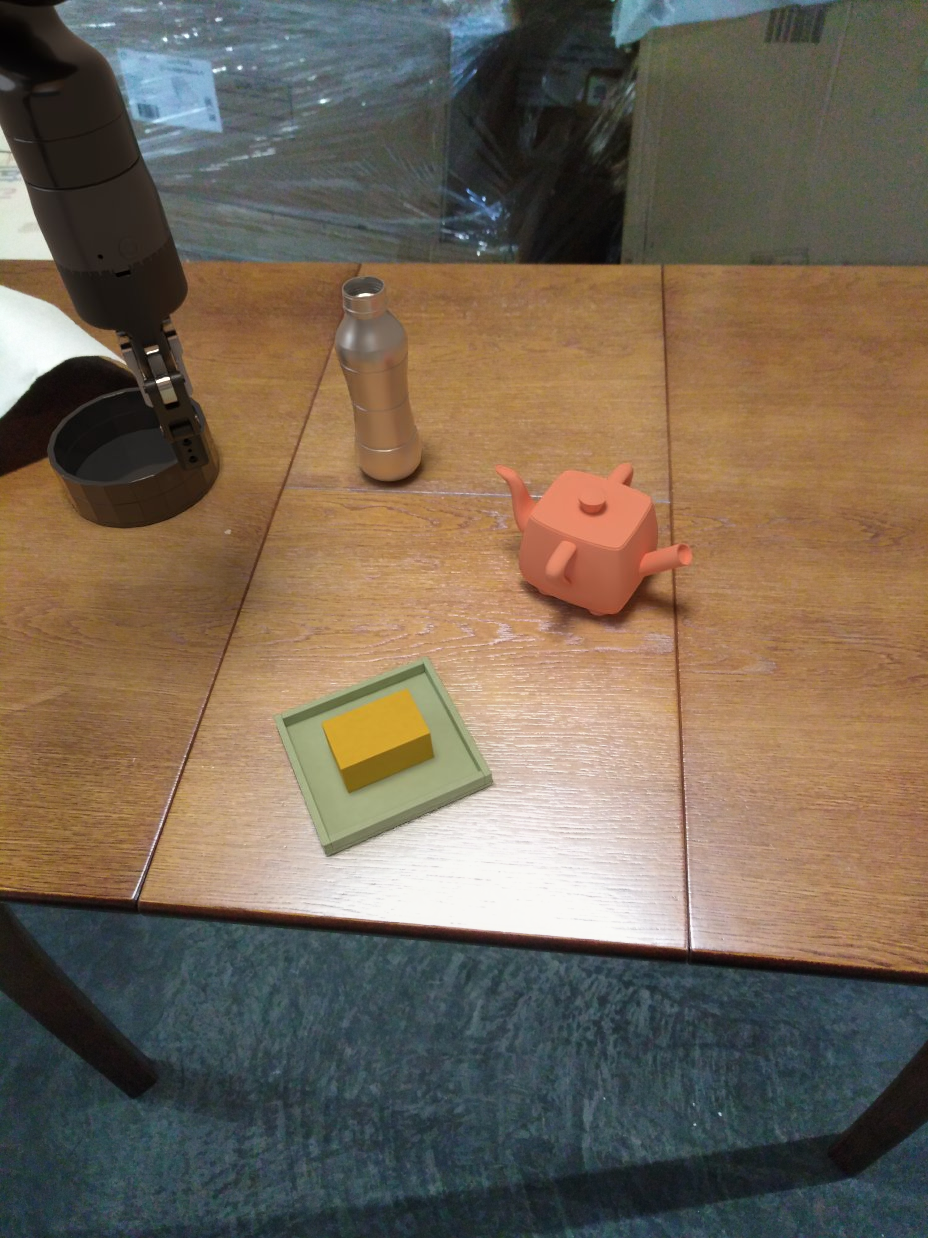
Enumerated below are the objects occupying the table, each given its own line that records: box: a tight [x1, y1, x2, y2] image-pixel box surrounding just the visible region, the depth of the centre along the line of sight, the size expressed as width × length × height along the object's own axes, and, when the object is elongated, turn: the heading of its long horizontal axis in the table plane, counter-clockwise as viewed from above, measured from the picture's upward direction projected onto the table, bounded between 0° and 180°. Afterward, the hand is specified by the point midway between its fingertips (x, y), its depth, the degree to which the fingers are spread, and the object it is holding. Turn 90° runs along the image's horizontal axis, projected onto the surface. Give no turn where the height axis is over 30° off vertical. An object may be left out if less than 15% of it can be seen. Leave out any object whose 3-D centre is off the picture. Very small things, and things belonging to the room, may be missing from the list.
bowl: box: [46, 386, 220, 528], centre depth 90 cm, size 15×15×6 cm
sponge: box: [321, 688, 434, 793], centre depth 67 cm, size 7×4×4 cm, turn 115°
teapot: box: [494, 462, 693, 617], centre depth 76 cm, size 14×12×10 cm
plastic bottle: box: [333, 275, 423, 482], centre depth 83 cm, size 6×7×20 cm
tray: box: [273, 655, 493, 857], centre depth 69 cm, size 13×12×2 cm
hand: (187, 444), depth 70 cm, fingers open, 5 cm apart
